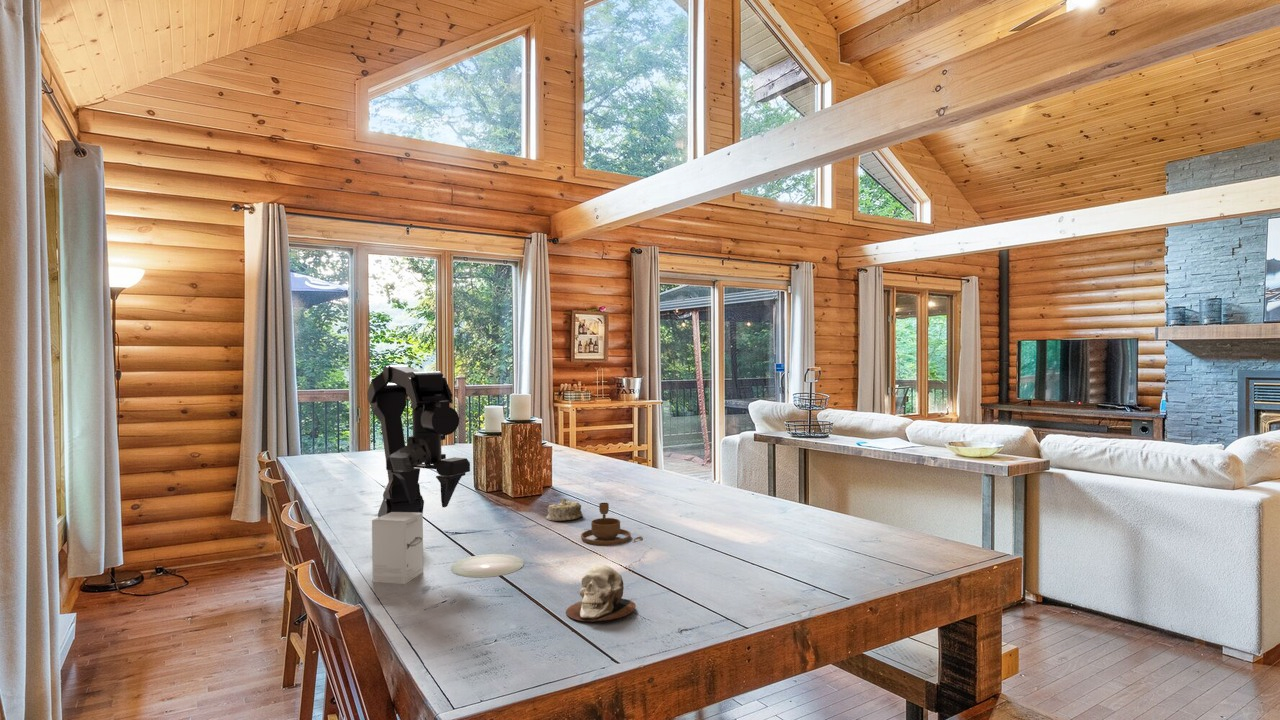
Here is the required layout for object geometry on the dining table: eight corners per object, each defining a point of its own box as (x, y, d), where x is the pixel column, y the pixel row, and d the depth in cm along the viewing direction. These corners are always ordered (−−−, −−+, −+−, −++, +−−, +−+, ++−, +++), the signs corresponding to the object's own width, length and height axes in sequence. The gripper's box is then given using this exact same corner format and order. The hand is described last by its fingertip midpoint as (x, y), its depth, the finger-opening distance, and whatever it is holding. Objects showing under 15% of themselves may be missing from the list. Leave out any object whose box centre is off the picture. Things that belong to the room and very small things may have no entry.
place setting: (560, 543, 167) (560, 519, 167) (600, 524, 185) (599, 501, 185) (627, 552, 159) (627, 526, 159) (661, 530, 178) (661, 507, 178)
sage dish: (435, 571, 145) (435, 569, 145) (484, 552, 158) (484, 550, 158) (491, 582, 137) (491, 580, 137) (538, 561, 151) (538, 559, 151)
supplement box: (405, 585, 136) (404, 520, 136) (371, 583, 138) (370, 519, 137) (424, 573, 143) (423, 512, 143) (391, 571, 145) (390, 510, 145)
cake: (590, 517, 190) (590, 497, 190) (562, 524, 183) (562, 504, 183) (566, 512, 197) (566, 492, 197) (538, 518, 190) (538, 498, 190)
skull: (618, 623, 113) (576, 574, 115) (583, 659, 117) (544, 610, 120) (652, 593, 123) (613, 549, 126) (619, 626, 127) (582, 582, 130)
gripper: (364, 433, 144) (366, 508, 145) (432, 437, 136) (433, 517, 136) (405, 427, 154) (407, 498, 155) (471, 431, 146) (472, 506, 146)
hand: (428, 505), depth 147 cm, fingers open, 9 cm apart
